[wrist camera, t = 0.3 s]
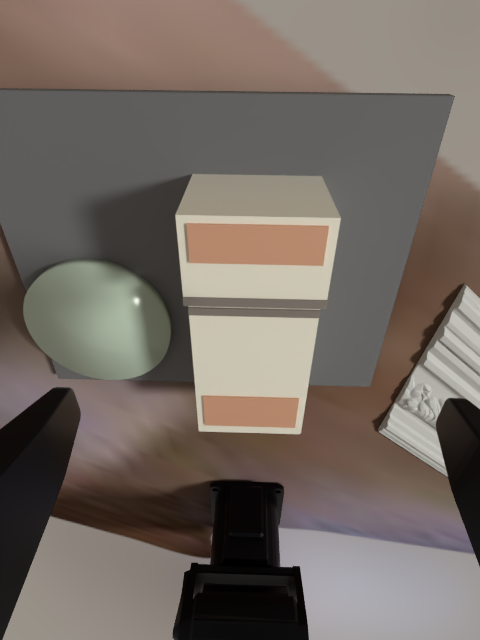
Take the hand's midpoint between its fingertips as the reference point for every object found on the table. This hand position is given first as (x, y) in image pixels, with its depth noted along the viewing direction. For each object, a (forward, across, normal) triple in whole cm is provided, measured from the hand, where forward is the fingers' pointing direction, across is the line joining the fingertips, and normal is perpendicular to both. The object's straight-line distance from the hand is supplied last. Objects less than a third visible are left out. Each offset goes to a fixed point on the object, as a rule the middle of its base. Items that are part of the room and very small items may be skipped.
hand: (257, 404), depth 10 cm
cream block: (+12, 0, 0) cm, 12 cm away
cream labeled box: (+12, 0, +7) cm, 14 cm away
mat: (+13, +2, +3) cm, 14 cm away
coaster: (+12, +9, +7) cm, 17 cm away
